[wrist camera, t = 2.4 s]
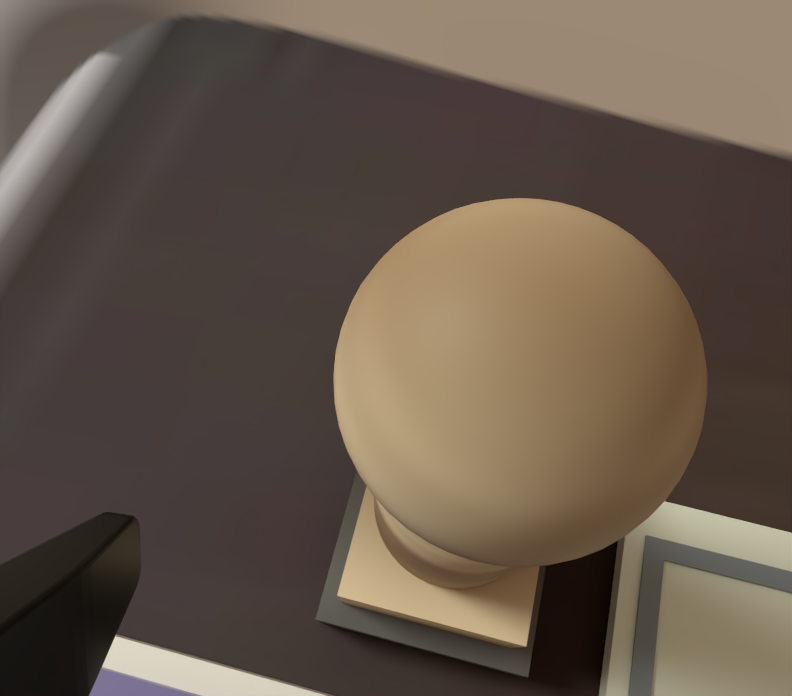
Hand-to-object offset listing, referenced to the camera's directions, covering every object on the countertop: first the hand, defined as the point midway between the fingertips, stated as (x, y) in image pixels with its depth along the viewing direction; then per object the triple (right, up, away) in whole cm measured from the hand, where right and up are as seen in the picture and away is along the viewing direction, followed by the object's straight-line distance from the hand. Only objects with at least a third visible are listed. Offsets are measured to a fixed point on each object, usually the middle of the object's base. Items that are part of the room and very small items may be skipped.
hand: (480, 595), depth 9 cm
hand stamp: (0, -2, +10) cm, 10 cm away
